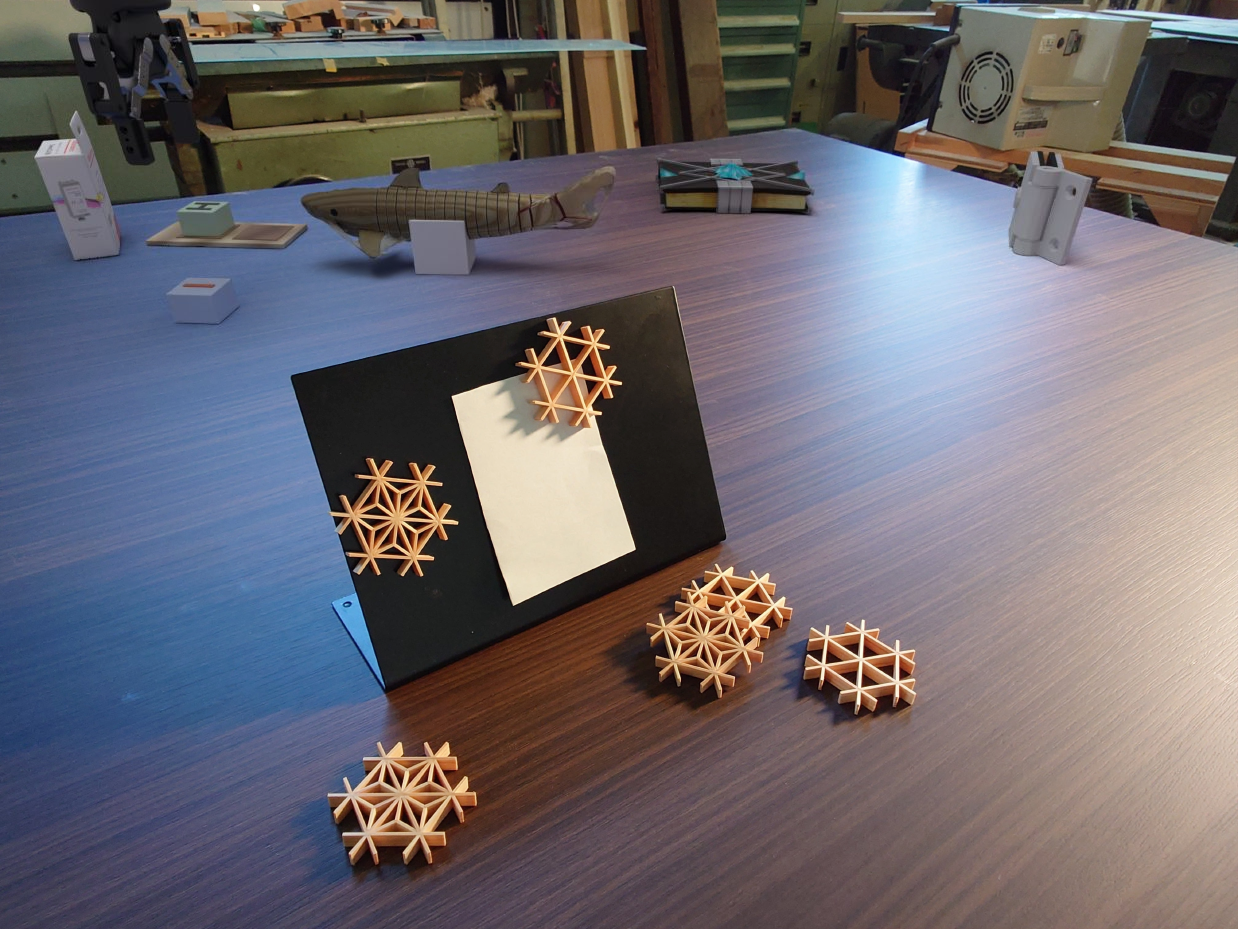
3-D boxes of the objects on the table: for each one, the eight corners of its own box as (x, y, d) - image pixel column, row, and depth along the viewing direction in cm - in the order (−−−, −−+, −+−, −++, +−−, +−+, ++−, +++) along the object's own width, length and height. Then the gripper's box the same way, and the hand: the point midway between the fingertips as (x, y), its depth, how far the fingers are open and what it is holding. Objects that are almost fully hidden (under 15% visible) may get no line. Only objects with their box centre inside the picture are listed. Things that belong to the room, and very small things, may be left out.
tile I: (174, 322, 80) (164, 292, 78) (196, 305, 83) (187, 276, 82) (219, 324, 80) (210, 294, 78) (239, 306, 83) (231, 277, 82)
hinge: (1066, 266, 96) (1094, 179, 91) (1018, 263, 97) (1043, 177, 91) (1034, 229, 108) (1057, 150, 102) (992, 227, 108) (1013, 149, 103)
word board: (146, 245, 99) (144, 239, 98) (179, 225, 105) (177, 219, 105) (284, 248, 98) (282, 243, 98) (307, 228, 105) (306, 223, 104)
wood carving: (615, 280, 91) (616, 178, 84) (302, 277, 90) (280, 174, 84) (615, 253, 98) (616, 157, 92) (325, 250, 98) (307, 154, 91)
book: (794, 183, 126) (798, 150, 123) (813, 216, 112) (818, 178, 109) (655, 181, 126) (656, 147, 123) (656, 213, 112) (658, 176, 109)
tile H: (183, 235, 100) (175, 210, 98) (200, 224, 103) (193, 200, 102) (219, 236, 99) (212, 211, 98) (235, 225, 103) (228, 200, 101)
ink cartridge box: (77, 239, 100) (30, 112, 92) (122, 234, 102) (80, 109, 94) (72, 261, 94) (21, 126, 85) (120, 255, 95) (75, 123, 87)
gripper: (108, -58, 71) (165, 136, 80) (0, -56, 59) (80, 172, 68) (192, -58, 71) (239, 137, 80) (100, -56, 59) (167, 173, 68)
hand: (166, 153), depth 74 cm, fingers open, 8 cm apart
